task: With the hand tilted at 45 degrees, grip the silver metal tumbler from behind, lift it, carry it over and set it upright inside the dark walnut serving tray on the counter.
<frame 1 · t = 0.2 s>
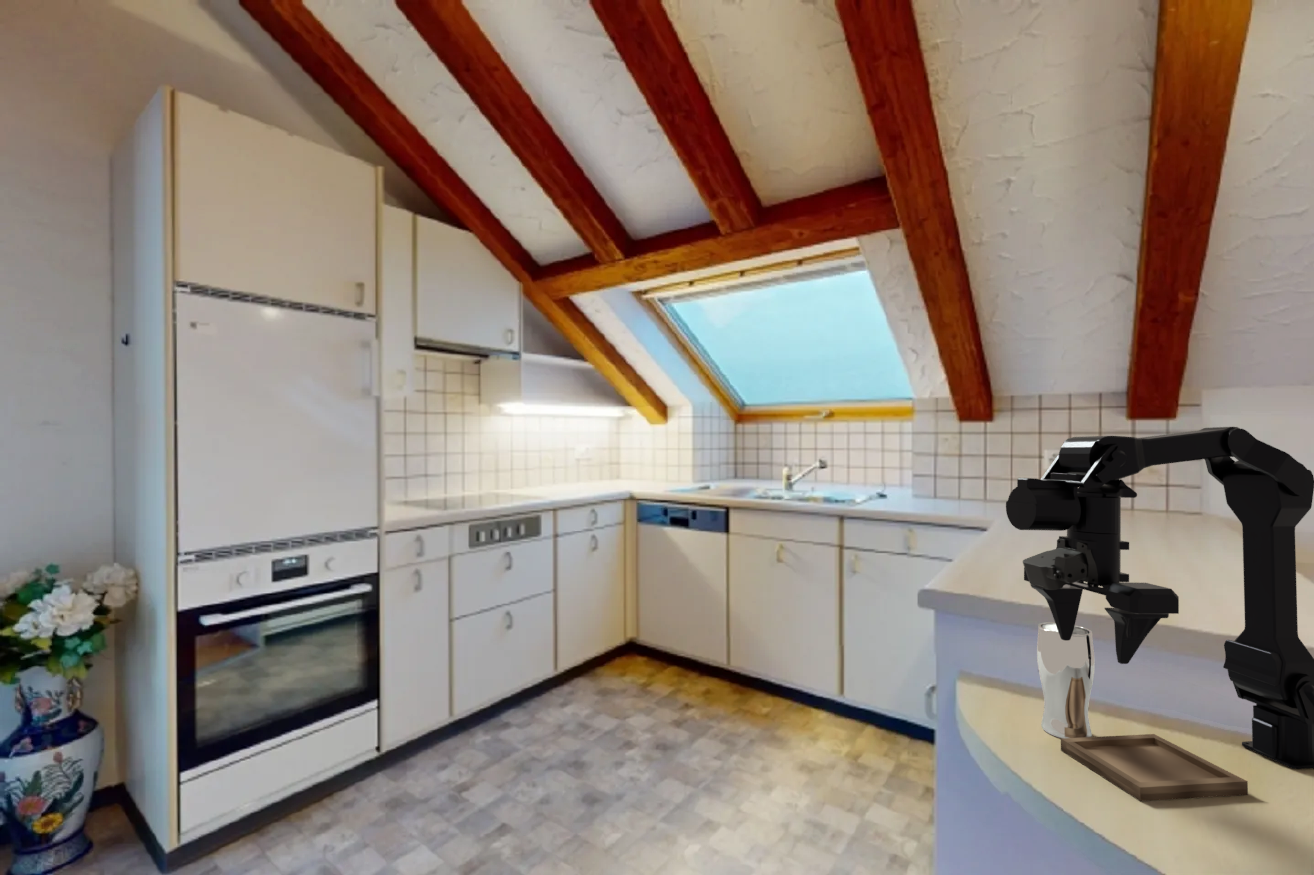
hand: (1092, 651, 78), 15 cm above the table, tool pointing down, fingers open, 9 cm apart
silver metal tumbler: (1066, 733, 87), on the table
walnut tray: (1147, 771, 76), on the table
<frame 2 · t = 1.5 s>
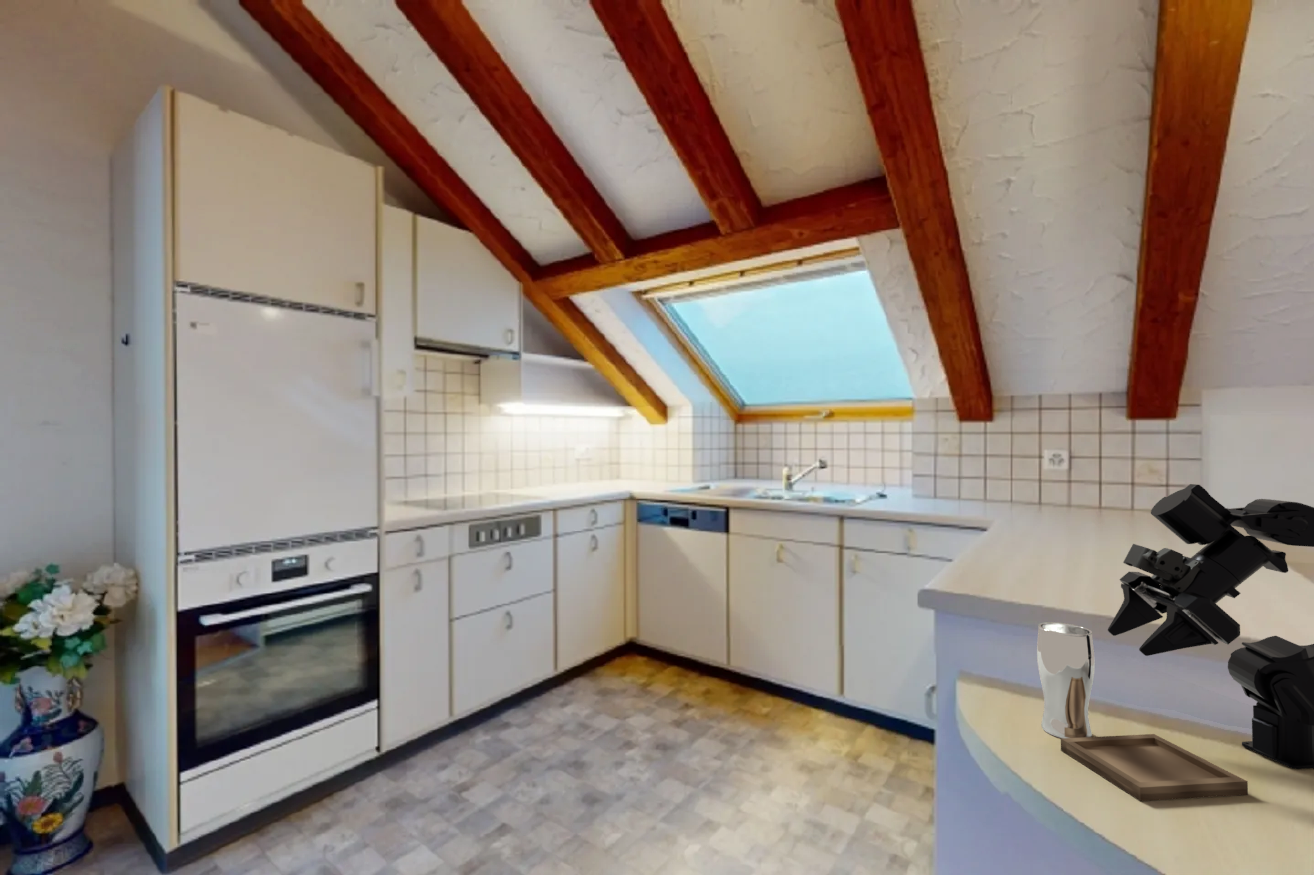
hand: (1125, 642, 85), 14 cm above the table, tool tilted 45°, fingers open, 9 cm apart
nothing on the table moved.
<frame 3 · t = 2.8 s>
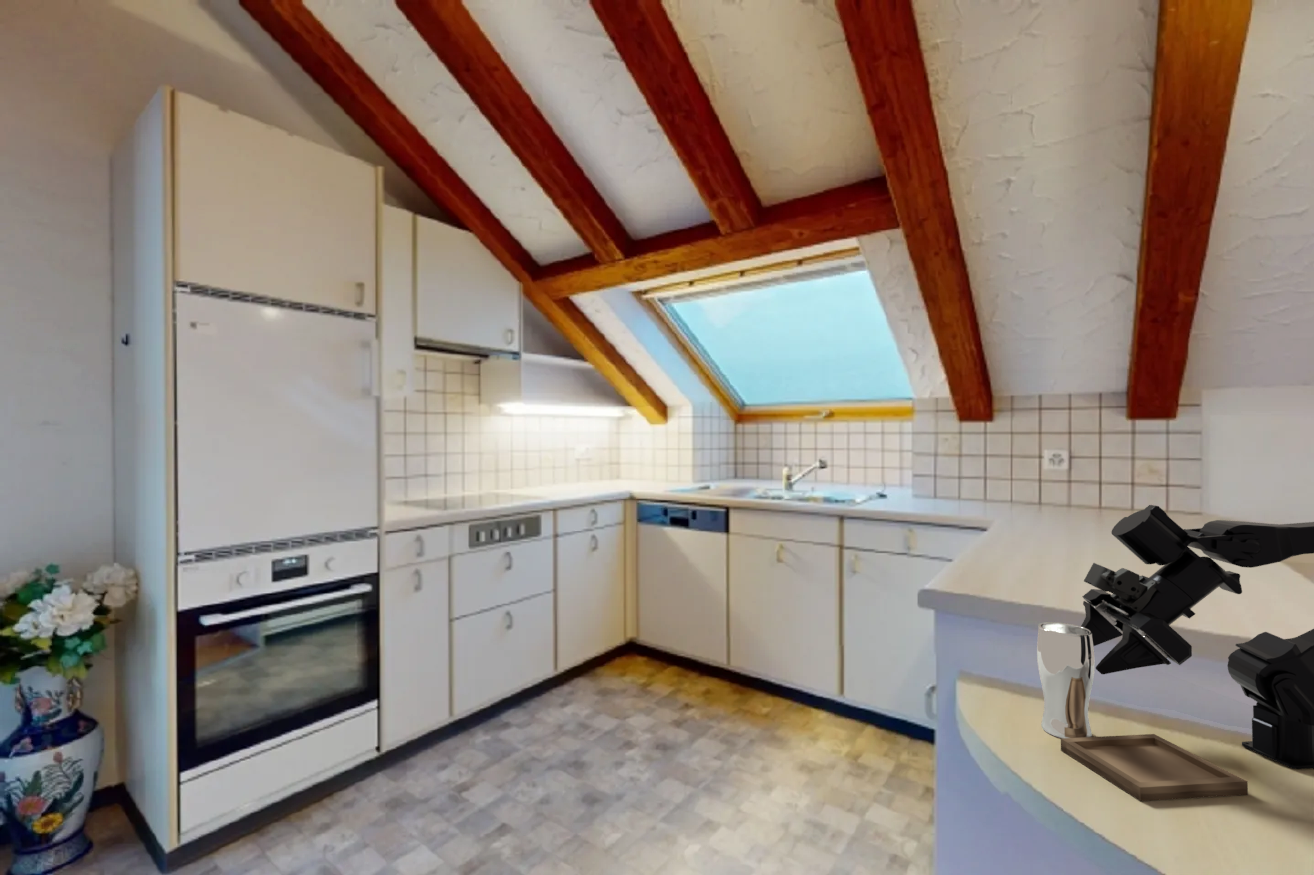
hand: (1084, 660, 87), 11 cm above the table, tool tilted 45°, fingers open, 9 cm apart
nothing on the table moved.
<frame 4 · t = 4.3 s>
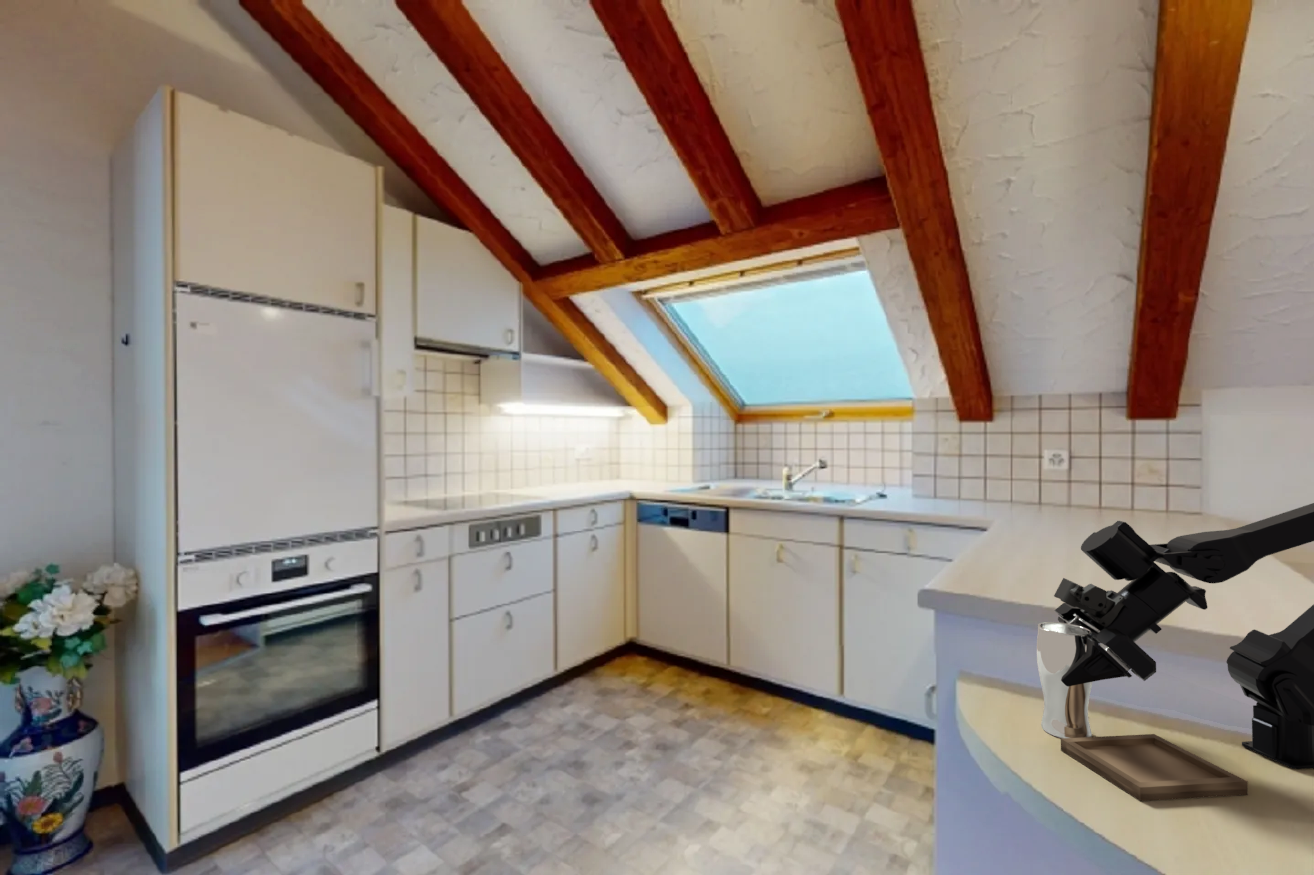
hand: (1054, 674, 88), 8 cm above the table, tool tilted 45°, fingers closed on silver metal tumbler, 7 cm apart
silver metal tumbler: (1066, 732, 87), on the table, touching gripper
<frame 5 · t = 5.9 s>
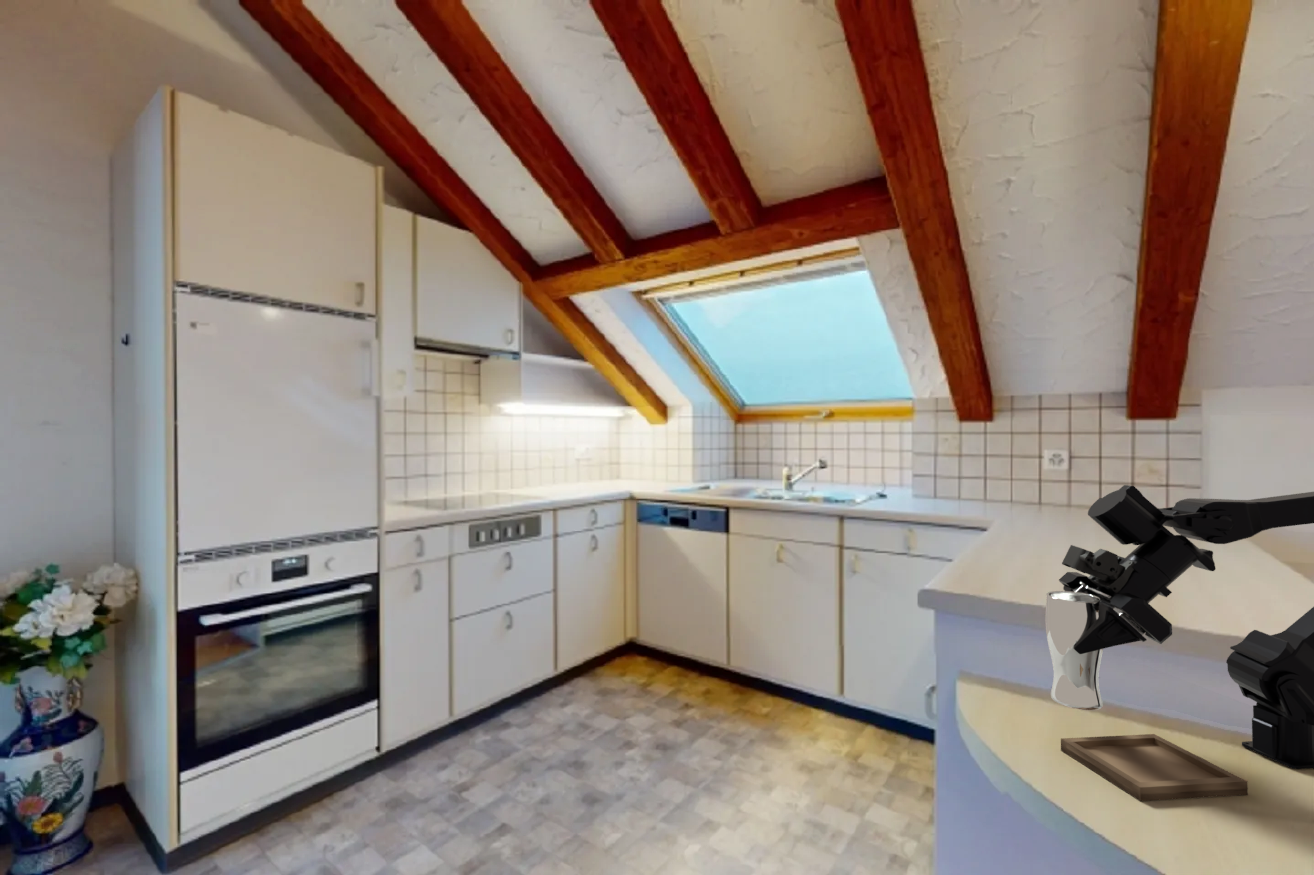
hand: (1064, 643, 86), 13 cm above the table, tool tilted 45°, fingers closed on silver metal tumbler, 7 cm apart
silver metal tumbler: (1076, 702, 86), point 5 cm above the table, touching gripper
when the fingers open (10 cm above the table, at t = 7.8 s): silver metal tumbler stays where it is, resting on walnut tray.
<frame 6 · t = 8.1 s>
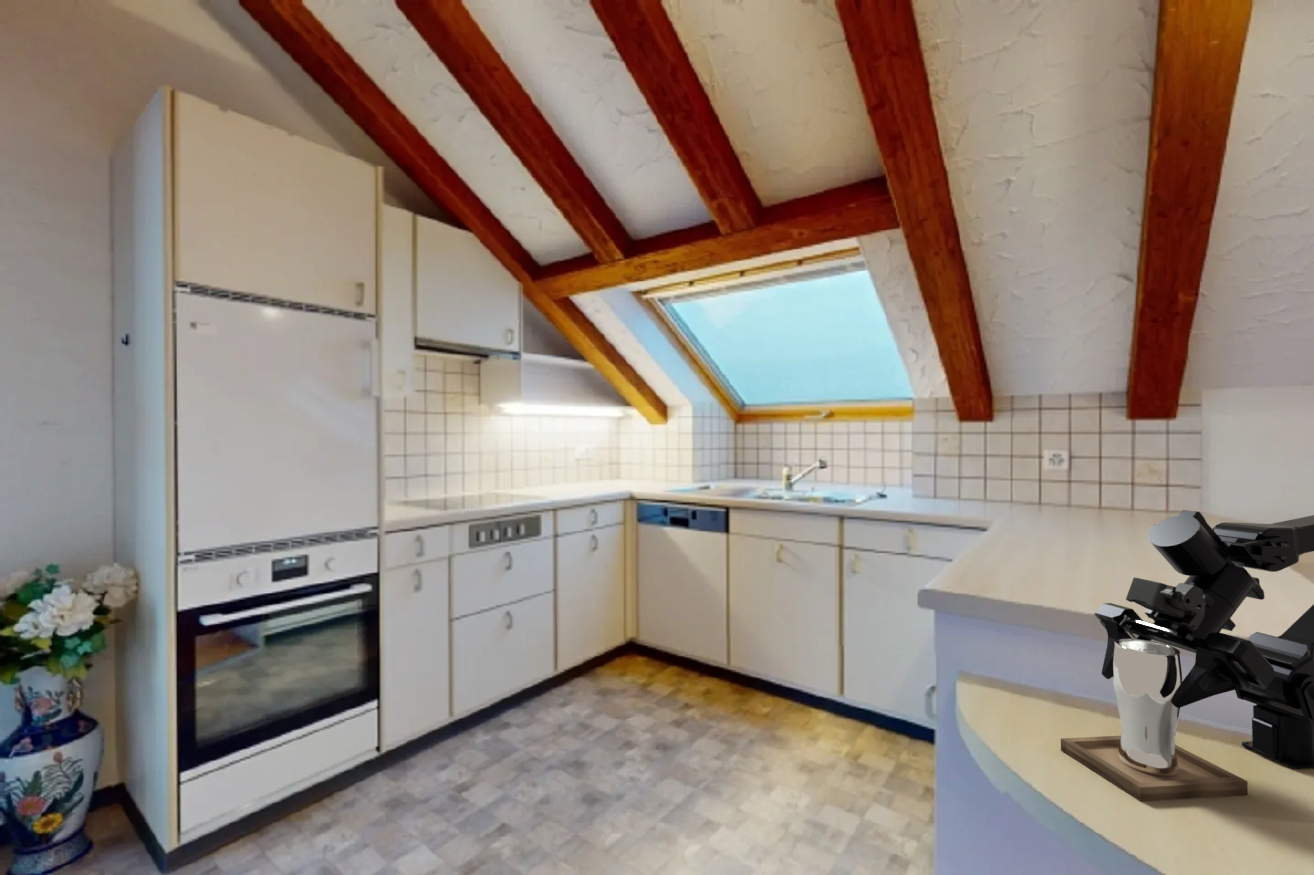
hand: (1137, 689, 76), 10 cm above the table, tool tilted 45°, fingers open, 9 cm apart
silver metal tumbler: (1147, 765, 76), point 1 cm above the table, touching walnut tray
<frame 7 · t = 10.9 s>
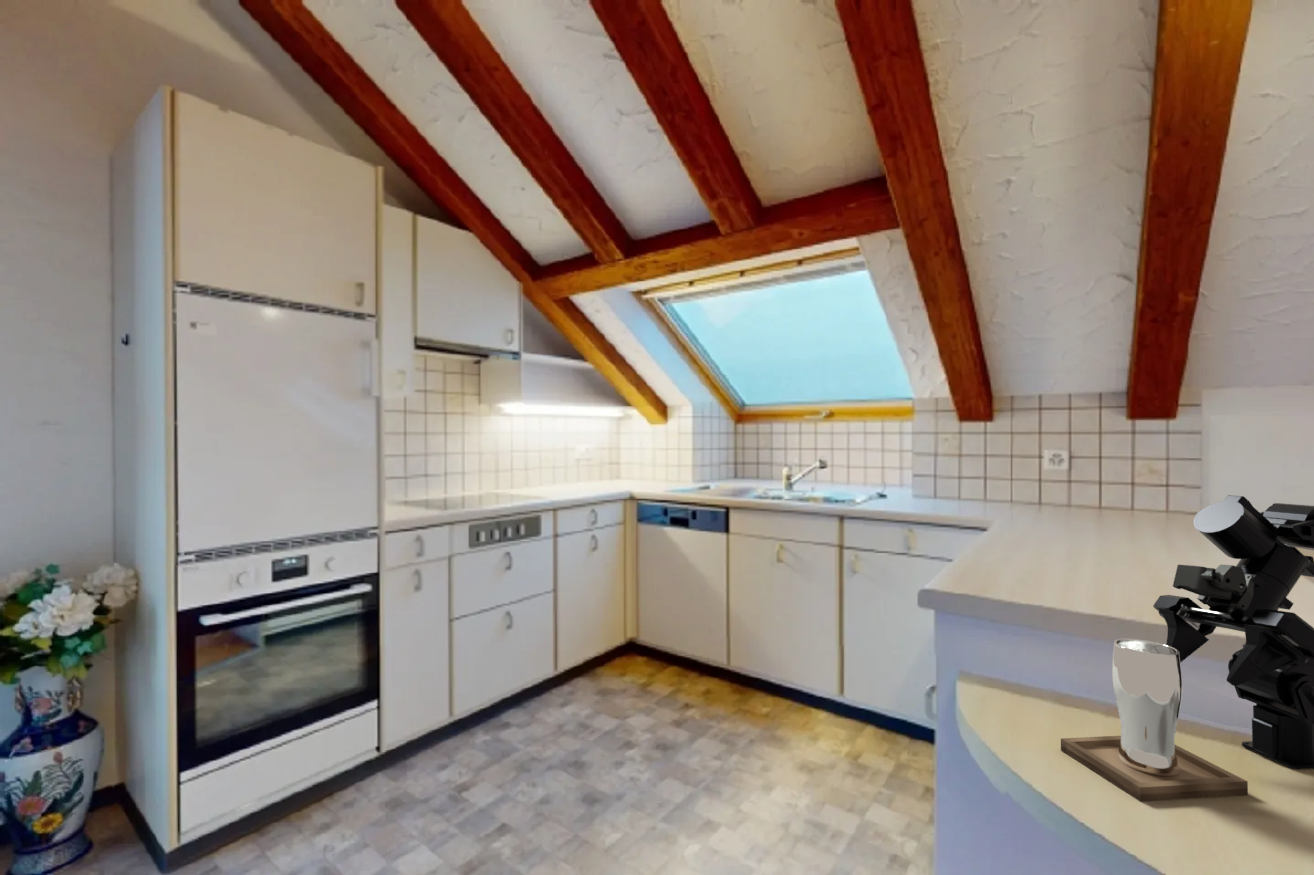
hand: (1197, 674, 79), 12 cm above the table, tool tilted 40°, fingers open, 9 cm apart
nothing on the table moved.
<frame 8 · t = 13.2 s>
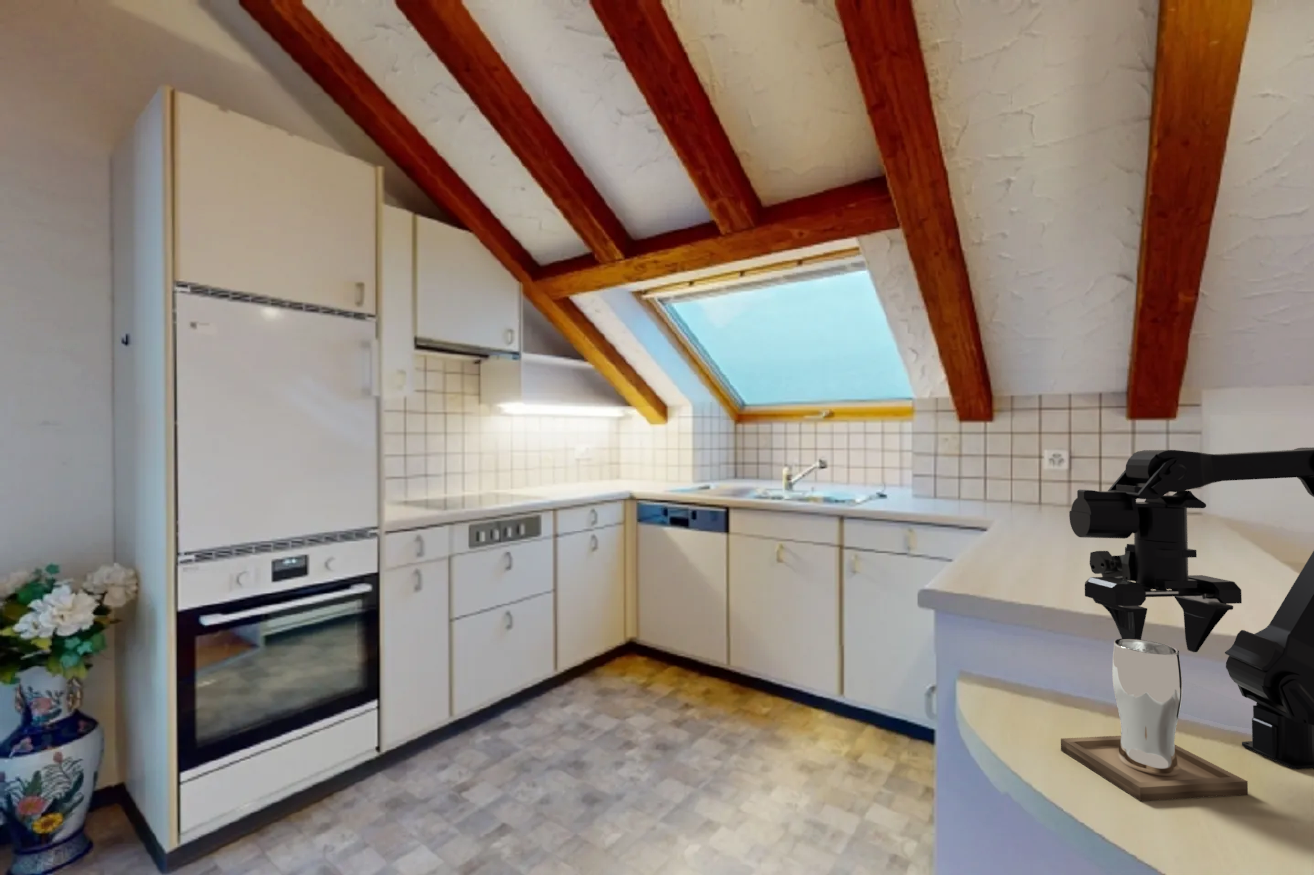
hand: (1162, 652, 83), 13 cm above the table, tool pointing down, fingers open, 9 cm apart
nothing on the table moved.
at the end: silver metal tumbler inside the target area on the walnut tray (0.1 cm from its centre), point 0.6 cm above the walnut tray's base; silver metal tumbler tilted 0°; the gripper is holding nothing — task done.
